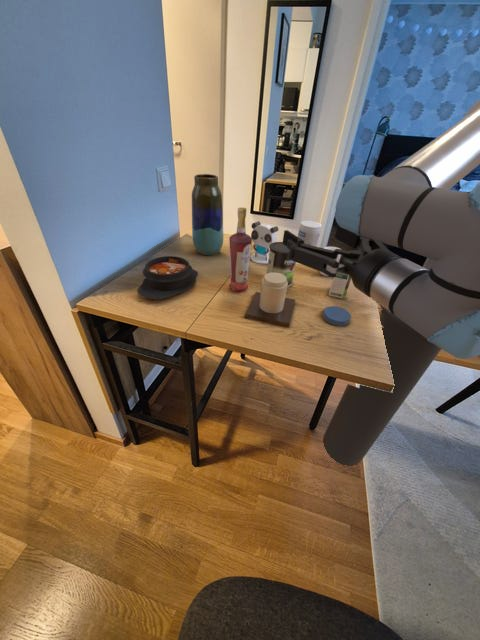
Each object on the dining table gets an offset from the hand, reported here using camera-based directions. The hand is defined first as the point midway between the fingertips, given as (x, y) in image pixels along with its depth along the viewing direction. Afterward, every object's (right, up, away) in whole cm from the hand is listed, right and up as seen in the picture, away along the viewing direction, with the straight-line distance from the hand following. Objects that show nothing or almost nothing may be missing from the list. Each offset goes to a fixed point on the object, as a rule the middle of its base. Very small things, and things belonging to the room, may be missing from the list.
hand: (312, 234), depth 57 cm
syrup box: (+20, -9, +39) cm, 45 cm away
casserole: (-41, -7, +38) cm, 57 cm away
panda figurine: (-6, +9, +61) cm, 62 cm away
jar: (-6, -14, +28) cm, 32 cm away
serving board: (-6, -16, +29) cm, 33 cm away
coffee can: (-1, -4, +44) cm, 45 cm away
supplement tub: (+15, +12, +66) cm, 68 cm away
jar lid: (+15, -17, +26) cm, 35 cm away
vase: (-31, +13, +64) cm, 72 cm away
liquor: (-16, -8, +38) cm, 43 cm away
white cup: (+21, +1, +52) cm, 56 cm away
